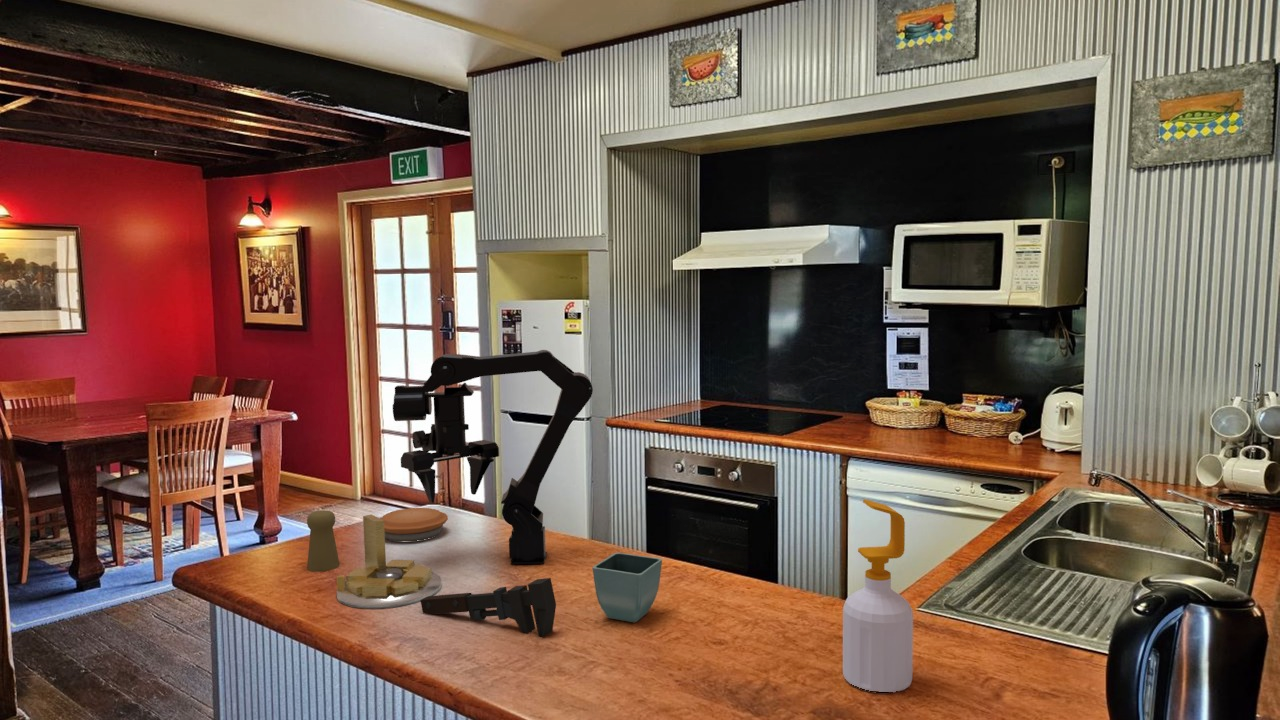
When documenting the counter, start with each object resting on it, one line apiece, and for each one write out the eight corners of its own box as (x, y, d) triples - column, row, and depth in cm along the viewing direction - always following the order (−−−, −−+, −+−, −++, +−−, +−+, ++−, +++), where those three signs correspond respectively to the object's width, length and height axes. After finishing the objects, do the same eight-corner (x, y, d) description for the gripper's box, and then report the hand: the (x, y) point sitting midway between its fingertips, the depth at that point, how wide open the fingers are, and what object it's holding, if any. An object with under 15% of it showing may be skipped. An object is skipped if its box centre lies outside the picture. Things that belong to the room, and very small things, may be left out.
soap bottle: (834, 666, 122) (834, 494, 119) (897, 663, 122) (898, 492, 120) (855, 696, 113) (856, 511, 111) (923, 692, 113) (925, 509, 111)
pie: (457, 525, 197) (456, 504, 197) (435, 546, 182) (434, 523, 181) (392, 525, 199) (391, 503, 198) (364, 545, 183) (363, 522, 183)
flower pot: (664, 610, 144) (663, 557, 143) (641, 630, 136) (640, 574, 135) (616, 603, 147) (615, 551, 146) (592, 621, 139) (591, 567, 138)
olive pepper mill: (345, 561, 172) (342, 507, 171) (331, 572, 166) (328, 515, 165) (315, 561, 172) (313, 507, 172) (301, 571, 166) (298, 515, 166)
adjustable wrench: (438, 637, 146) (561, 630, 135) (427, 643, 144) (552, 637, 133) (427, 588, 146) (550, 577, 135) (417, 593, 144) (541, 583, 133)
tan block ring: (443, 582, 154) (441, 525, 153) (367, 602, 145) (365, 541, 144) (404, 562, 166) (402, 508, 165) (332, 578, 157) (329, 522, 156)
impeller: (450, 572, 164) (450, 555, 164) (428, 608, 146) (427, 589, 146) (356, 574, 164) (355, 557, 164) (321, 609, 146) (320, 590, 146)
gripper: (469, 409, 180) (472, 483, 181) (385, 420, 167) (389, 500, 168) (499, 415, 171) (502, 492, 173) (413, 427, 159) (417, 510, 160)
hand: (453, 498), depth 169 cm, fingers open, 9 cm apart
